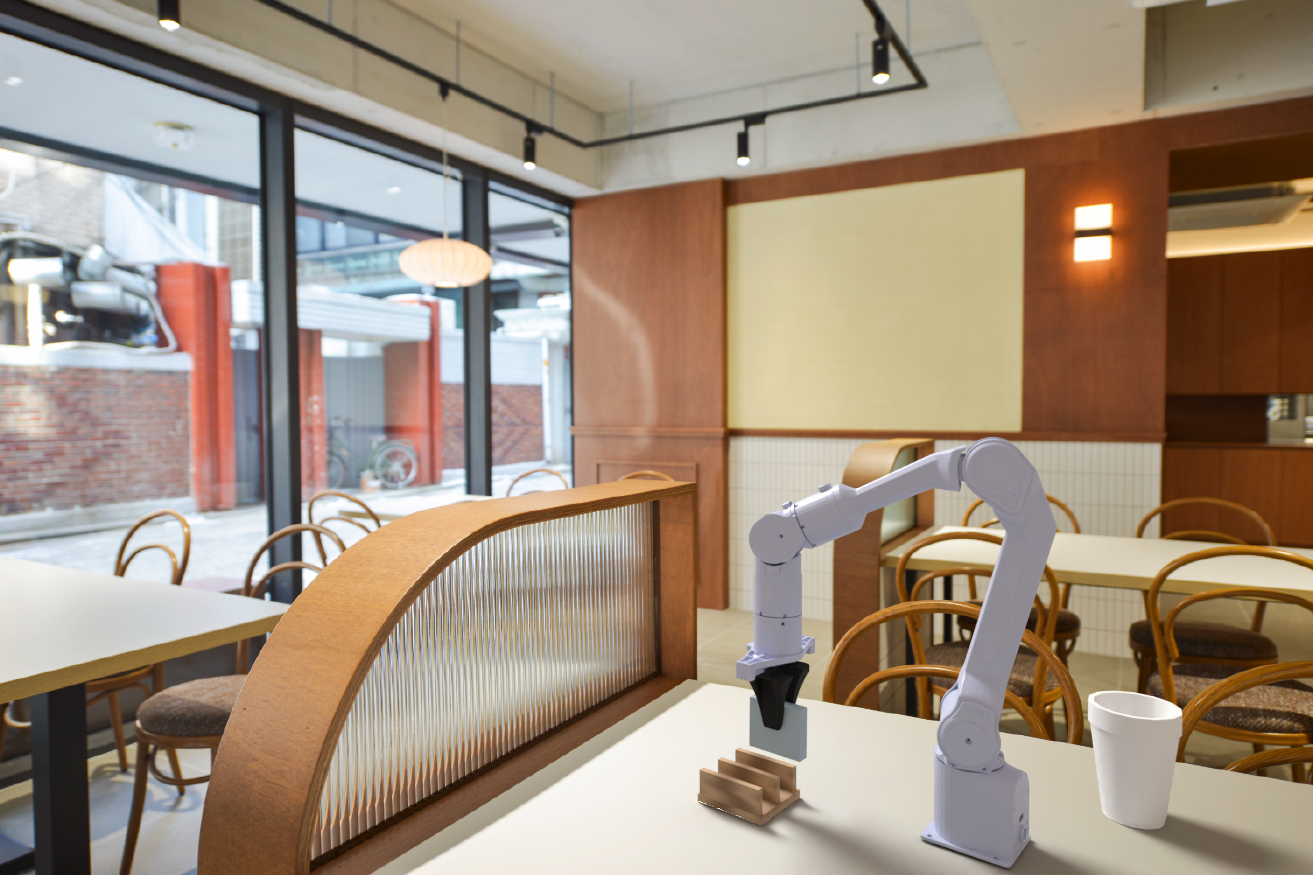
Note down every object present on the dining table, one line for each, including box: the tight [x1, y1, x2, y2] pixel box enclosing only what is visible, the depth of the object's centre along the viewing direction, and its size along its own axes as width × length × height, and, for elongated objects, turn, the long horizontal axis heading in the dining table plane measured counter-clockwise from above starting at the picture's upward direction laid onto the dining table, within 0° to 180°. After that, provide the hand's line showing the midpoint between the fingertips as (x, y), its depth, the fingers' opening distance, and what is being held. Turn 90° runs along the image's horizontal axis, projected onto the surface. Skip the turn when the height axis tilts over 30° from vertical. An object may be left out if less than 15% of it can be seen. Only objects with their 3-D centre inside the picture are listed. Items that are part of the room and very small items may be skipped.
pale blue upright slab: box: [748, 694, 808, 763], centre depth 96 cm, size 7×2×6 cm, turn 49°
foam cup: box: [1087, 690, 1183, 831], centre depth 93 cm, size 10×9×13 cm
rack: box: [697, 747, 801, 826], centre depth 97 cm, size 9×9×4 cm
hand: (777, 724), depth 96 cm, fingers closed on pale blue upright slab, 2 cm apart
